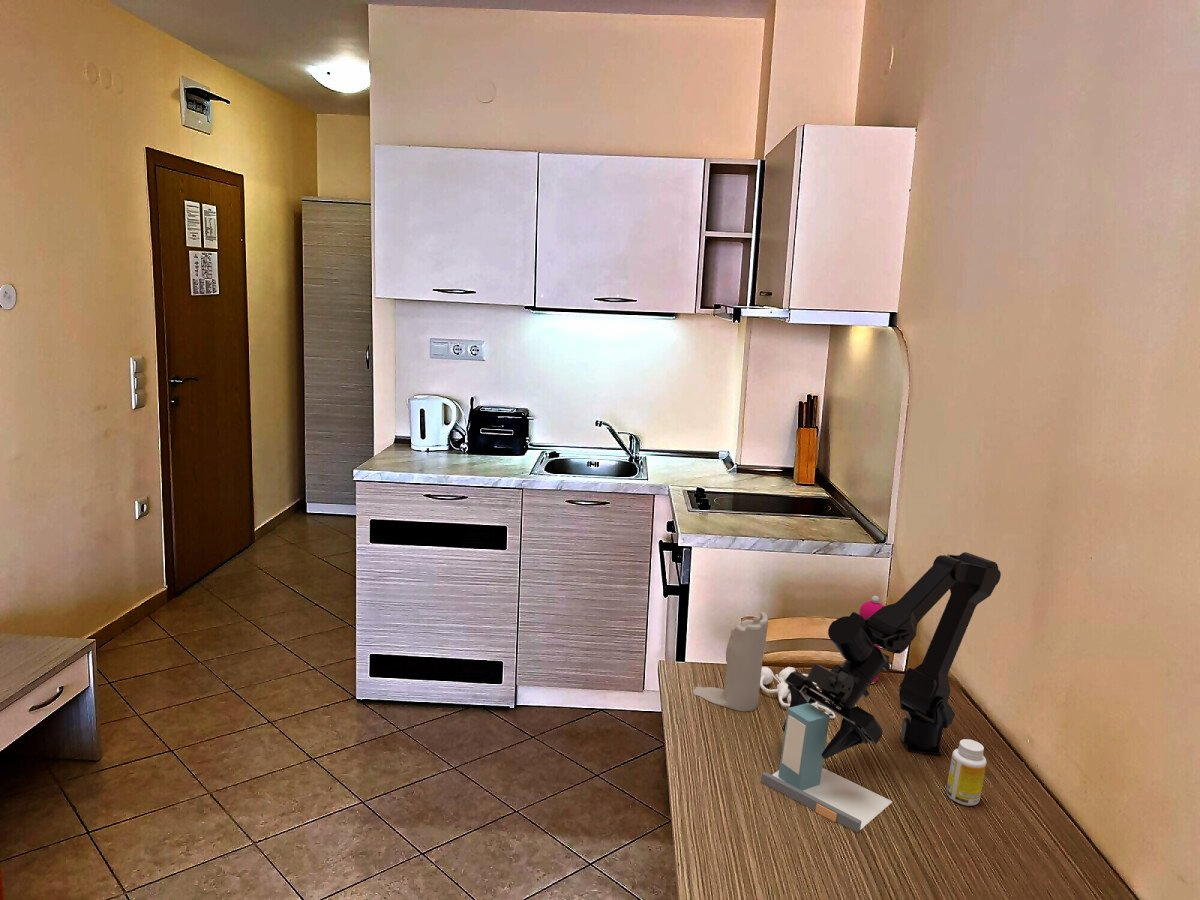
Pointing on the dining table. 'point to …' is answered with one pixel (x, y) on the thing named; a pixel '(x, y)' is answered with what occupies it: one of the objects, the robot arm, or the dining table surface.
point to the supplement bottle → (966, 773)
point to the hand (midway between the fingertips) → (803, 744)
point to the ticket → (826, 812)
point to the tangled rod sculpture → (784, 686)
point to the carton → (803, 746)
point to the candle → (741, 667)
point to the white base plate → (834, 798)
